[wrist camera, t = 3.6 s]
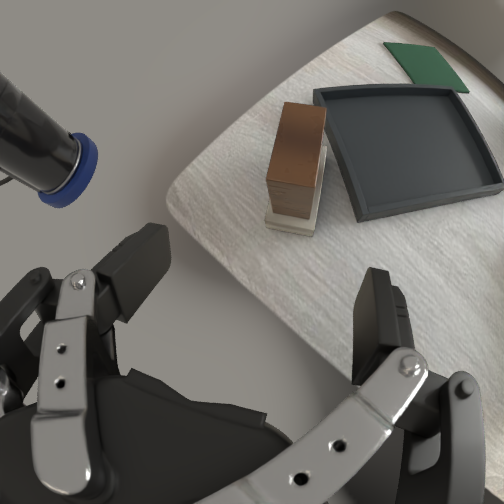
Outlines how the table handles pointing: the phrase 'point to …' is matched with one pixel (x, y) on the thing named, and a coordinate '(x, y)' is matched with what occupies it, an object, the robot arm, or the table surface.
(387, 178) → the tray
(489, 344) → the table surface
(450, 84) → the mat
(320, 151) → the eraser
